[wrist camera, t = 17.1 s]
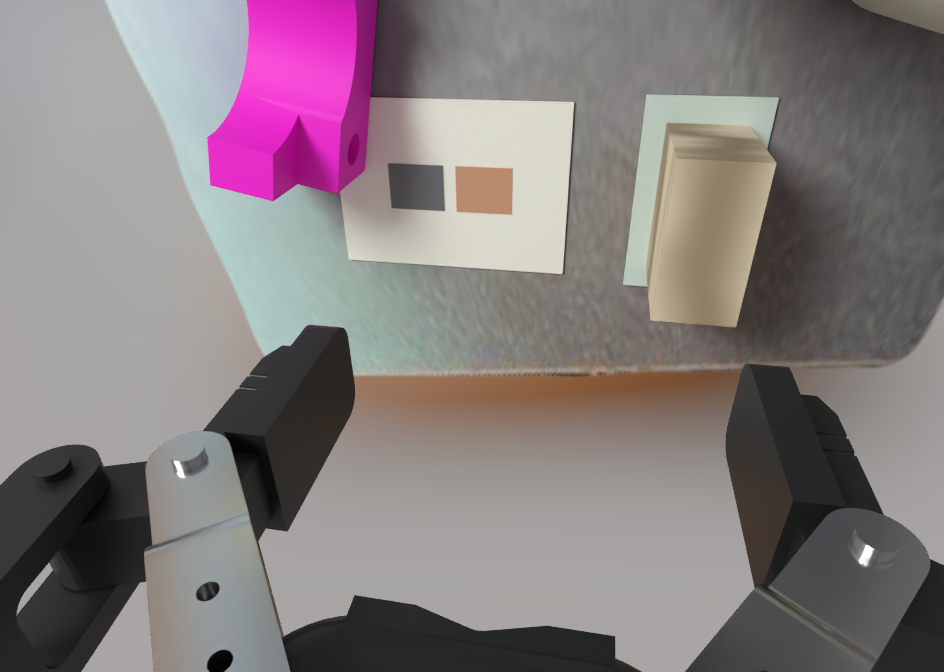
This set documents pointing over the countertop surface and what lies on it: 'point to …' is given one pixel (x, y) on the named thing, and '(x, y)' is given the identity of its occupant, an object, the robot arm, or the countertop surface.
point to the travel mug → (909, 11)
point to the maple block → (706, 222)
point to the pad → (652, 139)
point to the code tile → (462, 184)
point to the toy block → (299, 99)
